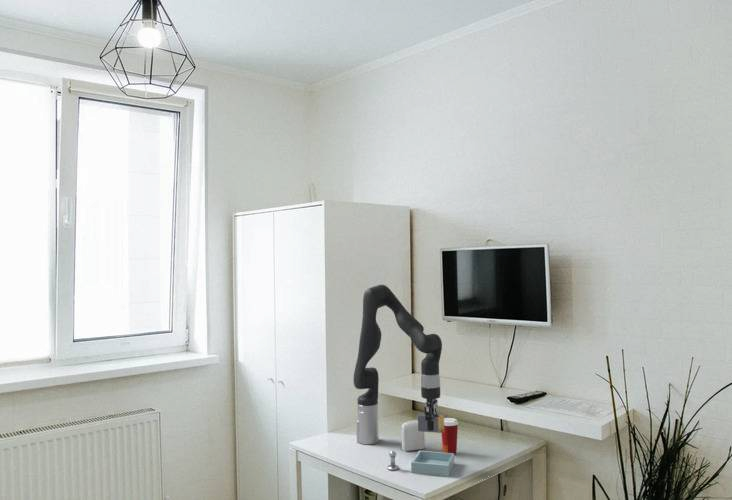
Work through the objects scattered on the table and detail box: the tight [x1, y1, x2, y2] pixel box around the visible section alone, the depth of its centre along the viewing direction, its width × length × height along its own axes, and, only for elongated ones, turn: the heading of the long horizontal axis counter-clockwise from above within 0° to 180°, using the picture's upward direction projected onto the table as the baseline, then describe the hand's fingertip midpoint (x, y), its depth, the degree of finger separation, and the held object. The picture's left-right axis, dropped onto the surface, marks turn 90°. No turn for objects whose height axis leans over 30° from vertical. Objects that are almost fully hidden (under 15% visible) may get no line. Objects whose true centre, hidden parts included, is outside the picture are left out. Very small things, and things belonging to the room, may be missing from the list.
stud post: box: [386, 450, 399, 472], centre depth 228 cm, size 4×4×7 cm
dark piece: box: [417, 412, 445, 434], centre depth 228 cm, size 4×10×6 cm, turn 71°
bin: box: [410, 449, 455, 477], centre depth 228 cm, size 14×14×4 cm
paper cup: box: [441, 417, 459, 456], centre depth 245 cm, size 8×8×14 cm
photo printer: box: [400, 419, 426, 452], centre depth 251 cm, size 10×4×12 cm, turn 107°
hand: (431, 428), depth 228 cm, fingers closed on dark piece, 4 cm apart
